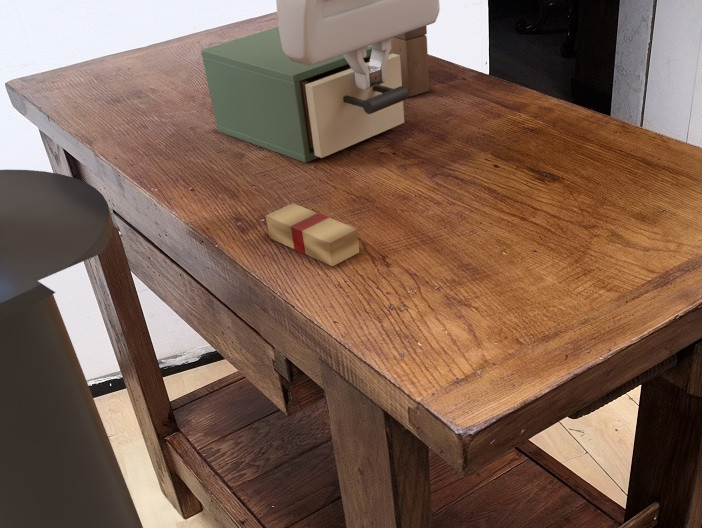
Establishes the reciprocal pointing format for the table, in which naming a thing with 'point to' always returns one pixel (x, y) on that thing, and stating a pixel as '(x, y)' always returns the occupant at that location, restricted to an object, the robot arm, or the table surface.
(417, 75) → the wooden block
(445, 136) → the table surface
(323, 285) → the table surface
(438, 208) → the table surface
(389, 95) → the drawer
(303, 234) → the block
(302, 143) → the cabinet
